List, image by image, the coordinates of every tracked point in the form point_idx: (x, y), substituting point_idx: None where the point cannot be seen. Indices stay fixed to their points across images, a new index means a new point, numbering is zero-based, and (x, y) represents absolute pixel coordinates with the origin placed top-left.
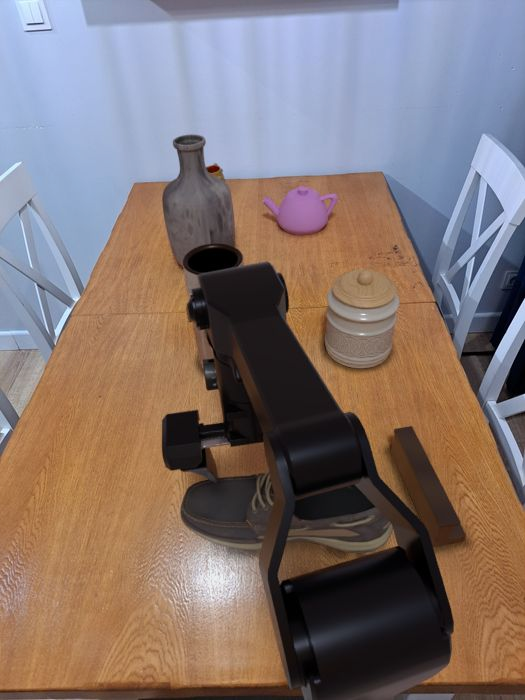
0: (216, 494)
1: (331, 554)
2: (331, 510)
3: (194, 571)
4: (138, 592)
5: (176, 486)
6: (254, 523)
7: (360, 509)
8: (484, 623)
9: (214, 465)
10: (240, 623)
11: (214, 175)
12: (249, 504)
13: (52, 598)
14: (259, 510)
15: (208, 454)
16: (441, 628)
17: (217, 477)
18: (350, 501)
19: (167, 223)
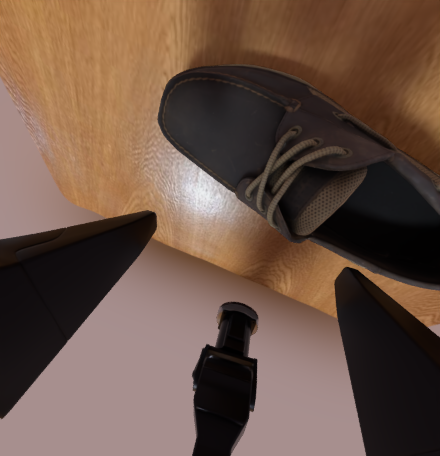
0: (210, 115)
1: None
2: (365, 196)
3: (184, 178)
4: (136, 177)
5: (171, 34)
6: (243, 202)
7: (406, 216)
8: None
9: (114, 251)
10: (214, 234)
11: None
12: (245, 180)
13: (68, 152)
14: (253, 203)
15: (25, 326)
16: None
17: (139, 249)
18: (406, 199)
19: None
